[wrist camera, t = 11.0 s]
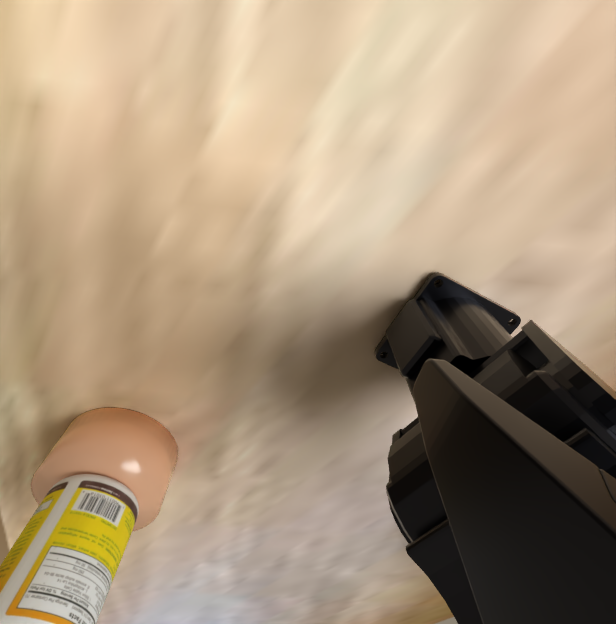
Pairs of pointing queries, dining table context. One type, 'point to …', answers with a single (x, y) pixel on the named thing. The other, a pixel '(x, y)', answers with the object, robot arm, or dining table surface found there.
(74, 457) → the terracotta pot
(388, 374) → the dining table surface
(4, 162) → the dining table surface
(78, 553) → the supplement bottle
